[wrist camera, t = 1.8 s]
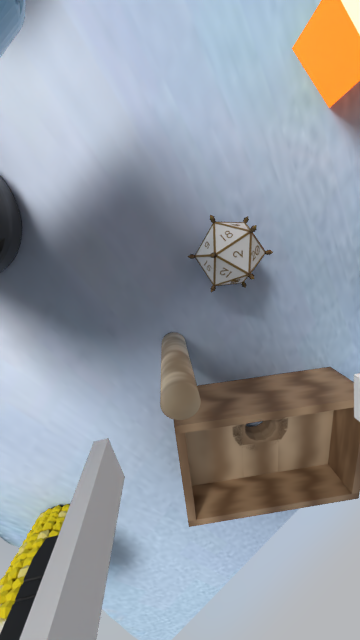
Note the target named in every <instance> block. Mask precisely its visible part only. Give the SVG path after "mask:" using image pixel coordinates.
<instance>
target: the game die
mask: <svg viewBox="0 0 360 640" xmlns="http://www.w3.org/2000/svg"><path fill="white" fill-rule="evenodd" d="M210 220H211V222H212V223H213V224H212V226H211V227H210V229H209V231H208V233H207V235H206V236H205V238H204V240H203V242H202V244H201V245H200V247H199V249H198V251H197V253H196V254H195V255H193V254H191V255H189V256H188V257H189V258H196V260H197V261H198V263H199V264H200V266H201V267H202V269H203V270H204V272H205V273H206V275H207V276H208V278H209V279H210V281H211V282H212V284H213V286H212V288H211V292H213V291H215V289H216V288H215V287H216V286H220V285H229V284H237V283H242V287H245V288H246V283H245V282H244V281H245V280H246V279H247V278H248V277H249V278H250V279H254V275H253V274H251V273H252V271H253V270H254V269H255V267H256V266H257V264H258V263H259V262H260V260H261V259H262V258H263V256H264V255H265V254H267V255H268V254H269V255H270V254H271V253H273V252H272V251H271V250H267V251H265V250H264V248H263V247H262V245H261V244H260V242H259V241H258V240H257V238H256V237H255V235H254V234H253V232H255V230H256V226H257V225H255V226H252V227H251V229H250V228H249V227H248V225H247V224H246V223H247V222H248V220H249V219H248V216H247V217H246V218H244V220H243V221H244V222H215V218H214V217H213V216H212V215H210Z"/></svg>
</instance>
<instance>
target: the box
mask: <svg viewBox="0 0 360 640" xmlns="http://www.w3.org/2000/svg"><path fill="white" fill-rule="evenodd" d="M197 388H198V392H199V395H200V400H201V404H200V408H199V410H198V411H197V413H196V414H195V415H193V416H192V417H190V418H188V419H185V420H174V427H175V434H176V441H177V448H178V454H179V461H180V468H181V475H182V482H183V489H184V495H185V502H186V509H187V516H188V523H189V527H191V526H197V525H203V524H209V523H215V522H220V521H226V520H232V519H238V518H244V517H250V516H256V515H262V514H268V513H274V512H280V511H286V510H292V509H298V508H304V507H310V506H315V505H322V504H328V503H334V502H340V501H345V500H351V499H357V498H359V492H360V422H359V421H358V420H357V419H356V418H355V417H354V382H352V381H351V380H349V379H348V378H346V377H345V376H343V375H342V374H340V373H339V372H337V371H336V370H334V369H333V368H331V367H326V368H319V369H312V370H305V371H298V372H291V373H283V374H276V375H269V376H262V377H255V378H248V379H241V380H234V381H227V382H220V383H213V384H206V385H199V386H197ZM260 421H263V422H262V423H261V424H259V425H257V426H252V427H248V426H246V424H247V423H253V422H260Z"/></svg>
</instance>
